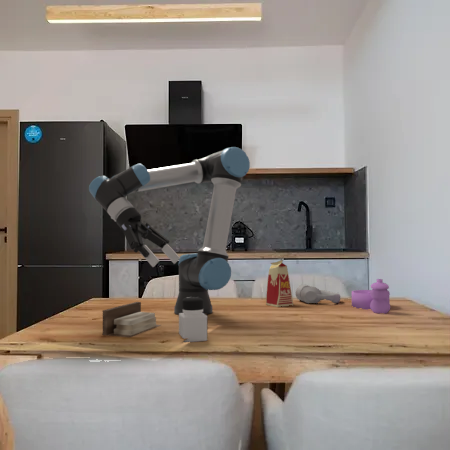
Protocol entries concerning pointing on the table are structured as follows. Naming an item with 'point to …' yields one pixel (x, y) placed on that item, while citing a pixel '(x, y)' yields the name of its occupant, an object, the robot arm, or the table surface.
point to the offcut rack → (117, 313)
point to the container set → (373, 298)
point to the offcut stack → (134, 323)
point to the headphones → (315, 294)
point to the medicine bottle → (193, 320)
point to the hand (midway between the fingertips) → (167, 262)
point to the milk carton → (278, 286)
